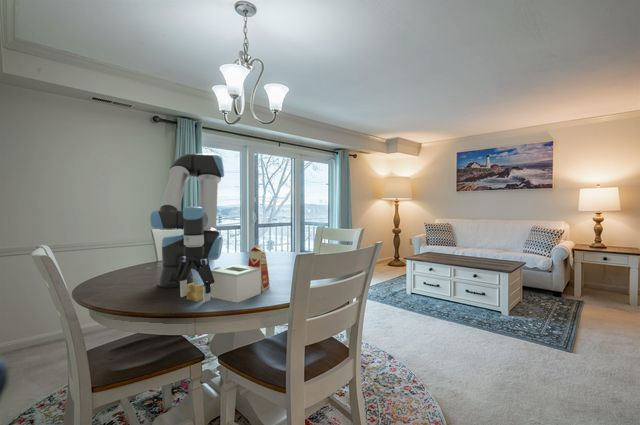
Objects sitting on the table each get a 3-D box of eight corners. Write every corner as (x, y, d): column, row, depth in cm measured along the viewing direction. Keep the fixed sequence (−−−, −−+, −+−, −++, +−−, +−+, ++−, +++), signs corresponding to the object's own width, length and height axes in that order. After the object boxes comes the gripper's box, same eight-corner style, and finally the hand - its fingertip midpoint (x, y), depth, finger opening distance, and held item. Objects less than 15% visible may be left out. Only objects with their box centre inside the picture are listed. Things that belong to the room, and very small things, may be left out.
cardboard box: (186, 299, 133) (186, 284, 133) (192, 297, 136) (192, 282, 136) (197, 301, 131) (196, 286, 130) (203, 299, 133) (202, 284, 133)
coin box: (211, 297, 136) (211, 270, 135) (236, 288, 148) (235, 264, 147) (237, 302, 129) (237, 274, 128) (260, 293, 141) (260, 267, 140)
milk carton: (263, 291, 144) (262, 245, 143) (243, 290, 146) (242, 244, 145) (270, 285, 153) (270, 242, 152) (251, 284, 155) (251, 242, 154)
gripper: (165, 244, 135) (166, 296, 136) (208, 249, 123) (209, 306, 124) (181, 242, 141) (182, 292, 143) (223, 246, 129) (224, 300, 130)
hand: (194, 298), depth 133 cm, fingers open, 12 cm apart
